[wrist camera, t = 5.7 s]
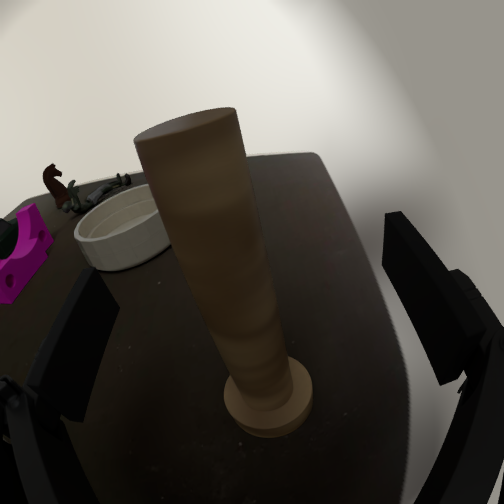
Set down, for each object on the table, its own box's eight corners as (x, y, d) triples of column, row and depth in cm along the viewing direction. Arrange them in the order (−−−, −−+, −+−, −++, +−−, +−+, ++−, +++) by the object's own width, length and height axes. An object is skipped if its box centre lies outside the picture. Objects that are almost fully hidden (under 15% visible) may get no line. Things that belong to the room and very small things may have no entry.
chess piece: (77, 198, 58) (60, 159, 53) (60, 210, 55) (42, 170, 49) (69, 198, 60) (53, 161, 55) (53, 209, 57) (36, 172, 51)
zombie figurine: (121, 153, 51) (57, 192, 42) (132, 183, 55) (73, 225, 46) (108, 154, 54) (49, 191, 44) (119, 183, 58) (63, 222, 49)
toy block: (11, 303, 29) (-18, 258, 25) (-7, 303, 30) (-34, 263, 26) (63, 239, 41) (43, 199, 37) (41, 244, 42) (22, 207, 38)
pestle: (295, 356, 18) (246, 96, 9) (326, 419, 14) (307, 107, 5) (223, 382, 17) (113, 137, 9) (242, 449, 13) (76, 178, 5)
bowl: (182, 202, 41) (172, 173, 39) (191, 250, 30) (177, 212, 28) (99, 232, 40) (86, 206, 37) (81, 288, 29) (62, 255, 26)
